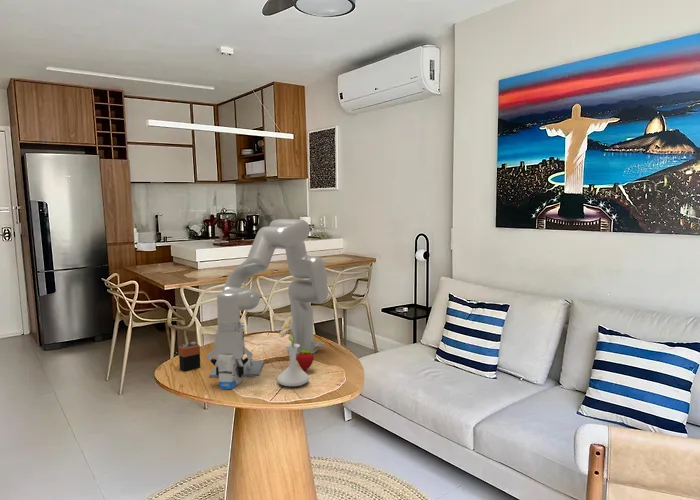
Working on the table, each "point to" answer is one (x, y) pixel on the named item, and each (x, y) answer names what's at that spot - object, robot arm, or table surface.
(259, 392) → the table surface
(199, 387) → the table surface
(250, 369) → the pin tray
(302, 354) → the strawberry
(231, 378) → the ink box
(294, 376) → the flower in vase
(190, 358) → the battery
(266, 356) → the table surface
